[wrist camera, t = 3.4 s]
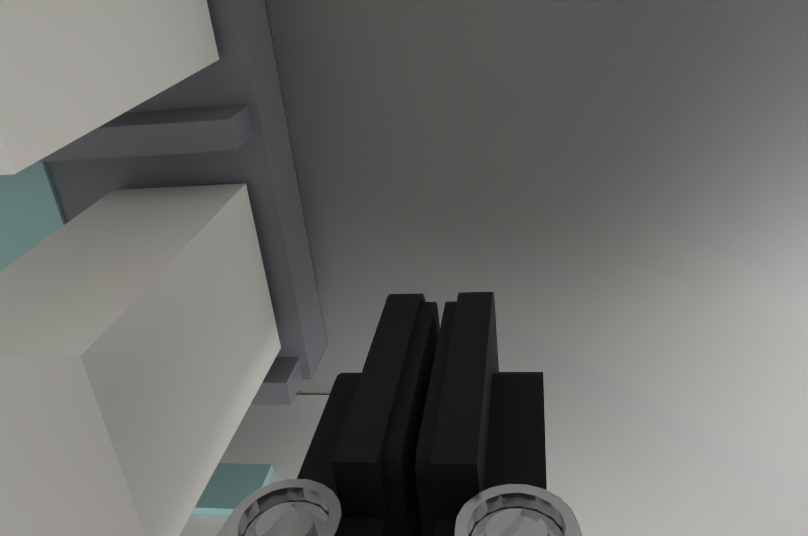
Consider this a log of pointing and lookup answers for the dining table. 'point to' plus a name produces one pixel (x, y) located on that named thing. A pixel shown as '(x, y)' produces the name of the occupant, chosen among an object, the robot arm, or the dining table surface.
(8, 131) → the white rectangular block
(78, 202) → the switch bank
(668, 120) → the dining table surface
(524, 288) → the dining table surface
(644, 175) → the dining table surface
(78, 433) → the switch
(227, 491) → the label sign
